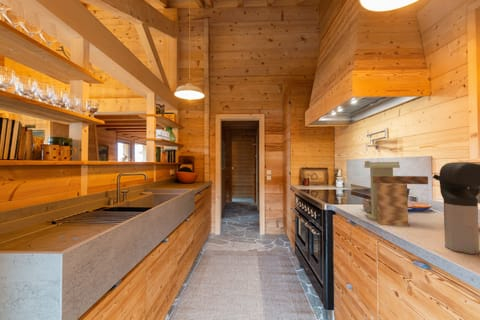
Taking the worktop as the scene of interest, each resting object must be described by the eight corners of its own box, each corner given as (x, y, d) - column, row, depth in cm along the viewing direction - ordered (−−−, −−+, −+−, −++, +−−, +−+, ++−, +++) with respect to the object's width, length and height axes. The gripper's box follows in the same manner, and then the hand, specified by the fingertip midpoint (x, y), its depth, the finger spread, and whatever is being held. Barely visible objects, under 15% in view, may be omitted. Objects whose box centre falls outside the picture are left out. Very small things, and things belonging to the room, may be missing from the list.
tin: (375, 214, 139) (375, 201, 139) (370, 214, 140) (370, 201, 140) (366, 209, 154) (366, 197, 154) (362, 209, 154) (361, 197, 154)
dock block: (403, 222, 120) (402, 182, 120) (409, 226, 112) (408, 184, 112) (376, 220, 125) (375, 182, 125) (380, 224, 116) (379, 183, 117)
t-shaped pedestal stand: (395, 218, 130) (394, 160, 130) (401, 222, 120) (399, 160, 121) (365, 216, 135) (364, 161, 136) (368, 219, 126) (367, 161, 127)
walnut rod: (424, 183, 115) (424, 176, 115) (428, 184, 111) (427, 176, 111) (372, 182, 123) (372, 175, 123) (374, 183, 120) (374, 176, 120)
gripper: (479, 202, 100) (440, 184, 105) (460, 197, 113) (427, 181, 118) (489, 188, 99) (450, 171, 104) (469, 184, 112) (435, 169, 117)
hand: (437, 176), depth 111 cm, fingers open, 8 cm apart
